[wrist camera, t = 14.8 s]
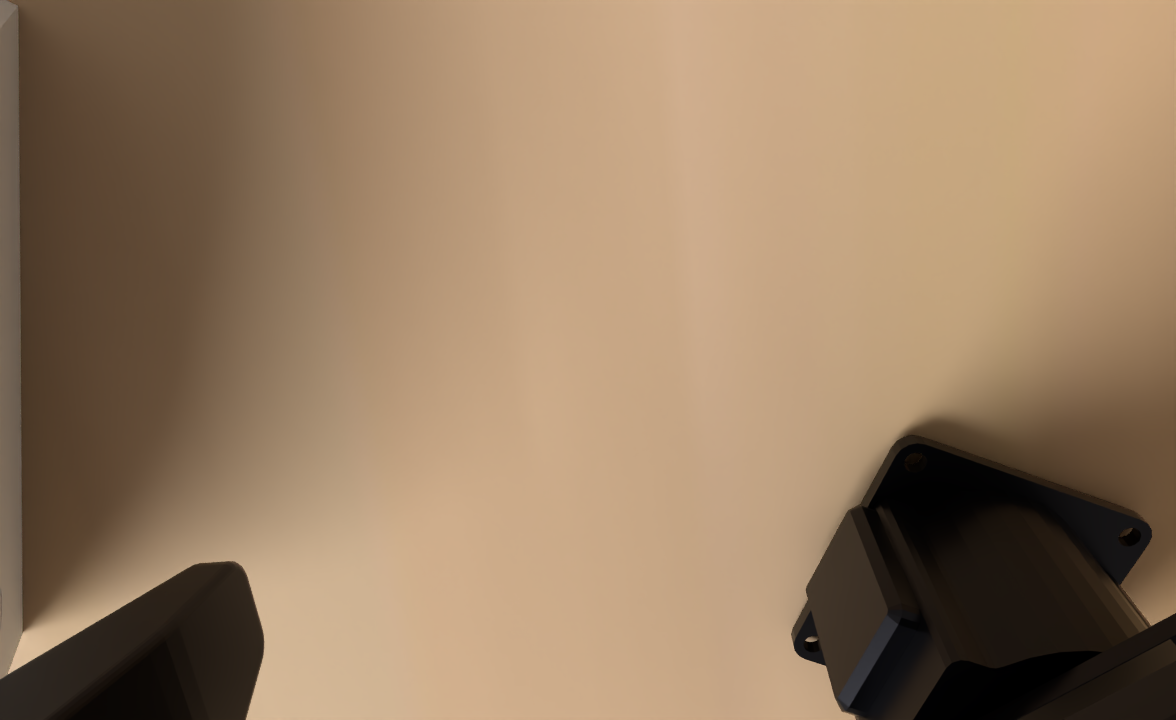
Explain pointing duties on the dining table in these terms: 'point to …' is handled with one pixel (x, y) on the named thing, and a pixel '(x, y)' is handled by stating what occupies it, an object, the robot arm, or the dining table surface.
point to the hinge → (10, 343)
